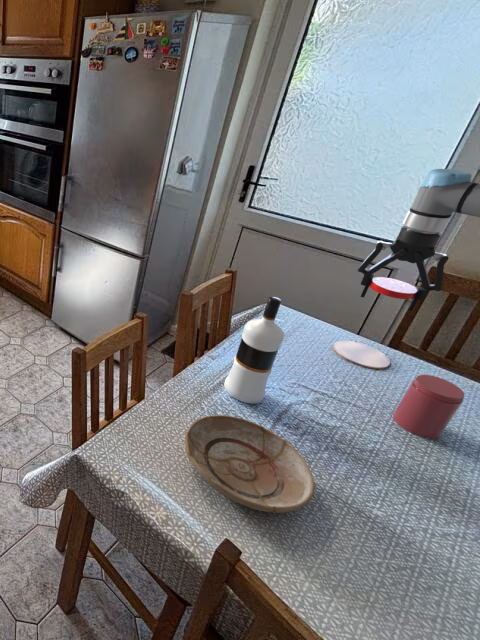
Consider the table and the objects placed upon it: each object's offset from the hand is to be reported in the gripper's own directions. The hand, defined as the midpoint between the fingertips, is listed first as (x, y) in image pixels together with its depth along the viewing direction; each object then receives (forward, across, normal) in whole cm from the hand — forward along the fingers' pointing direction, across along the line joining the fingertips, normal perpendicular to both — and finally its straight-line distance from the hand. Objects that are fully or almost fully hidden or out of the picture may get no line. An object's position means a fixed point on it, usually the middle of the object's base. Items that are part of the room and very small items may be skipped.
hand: (385, 301), depth 117 cm
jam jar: (+19, -13, +25) cm, 34 cm away
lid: (-5, 0, 0) cm, 5 cm away
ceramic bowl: (+19, +13, +70) cm, 74 cm away
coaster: (+19, 0, 0) cm, 19 cm away
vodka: (+19, +20, +43) cm, 51 cm away
